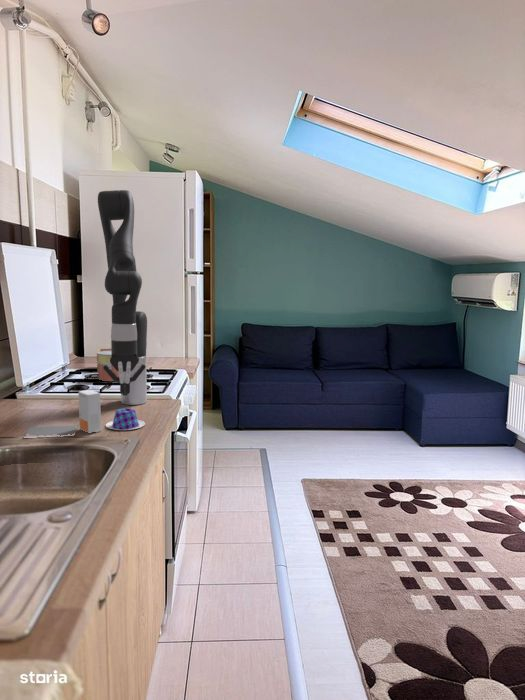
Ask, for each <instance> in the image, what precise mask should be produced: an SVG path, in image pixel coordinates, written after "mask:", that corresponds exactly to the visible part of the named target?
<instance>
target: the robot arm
mask: <svg viewBox="0 0 525 700" xmlns="http://www.w3.org/2000/svg"><path fill="white" fill-rule="evenodd" d="M97 206H98V212H99V217H100V218H99V219H100V221H101V227H102V232H103V238H104V243H105V252H106V261H107V262H106V263H107V272H106V275H105V279H104V289H105V291H106V292H107V293H108V294H110V295H111V296H112V306H111V328H110V329H111V330H110V340H111V341H110V342H111V343H110V344H111V345H110V347H111V348H110V349H111V358H110V362H108V363H107V364H105V365H104V366H103V369H104V370H105V371H106V372H107V373H108V375H109V376H110V377H111V378H112V379H113V380H114V381H115V382H114V383H119V392H120V403H121V404H122V405H130V406H135V405H142V404H145V403H147V402H148V401H147V400H148V399H147V395H148V394H147V392H148V391H147V390H148V389H147V387H148V386H147V384H148V383H147V344H148V343H147V339H148V338H147V337H148V334H147V333H148V317H147V315H146V312H144V311H137V305H138V299H139V296H140V292H141V289H142V284H143V279H142V277H141V274H140V273H139V272H138V270H137V264H136V258H135V255H134V247H133V246H134V245H133V242H134V241H133V238H134V228H135V225H134V224H135V203H134V197H133V195H132V192H131V191H130V190H126V189H120V190H103V191H101V190H100V191H99V192H98V194H97ZM112 221H122V222H121V224H120V227H119V228H118V229H117V230H116V229H115V228H114V227H115V226H114V225H113V223H112ZM128 296H129V297H128ZM127 297H128V299H127ZM111 364H112V365H113V367H114V368H115V369H116V370H117V371H118V372H119V377H117V376H116V375H115V373H114V372H113V371H112V370H111V369H112V366H111Z"/></svg>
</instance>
